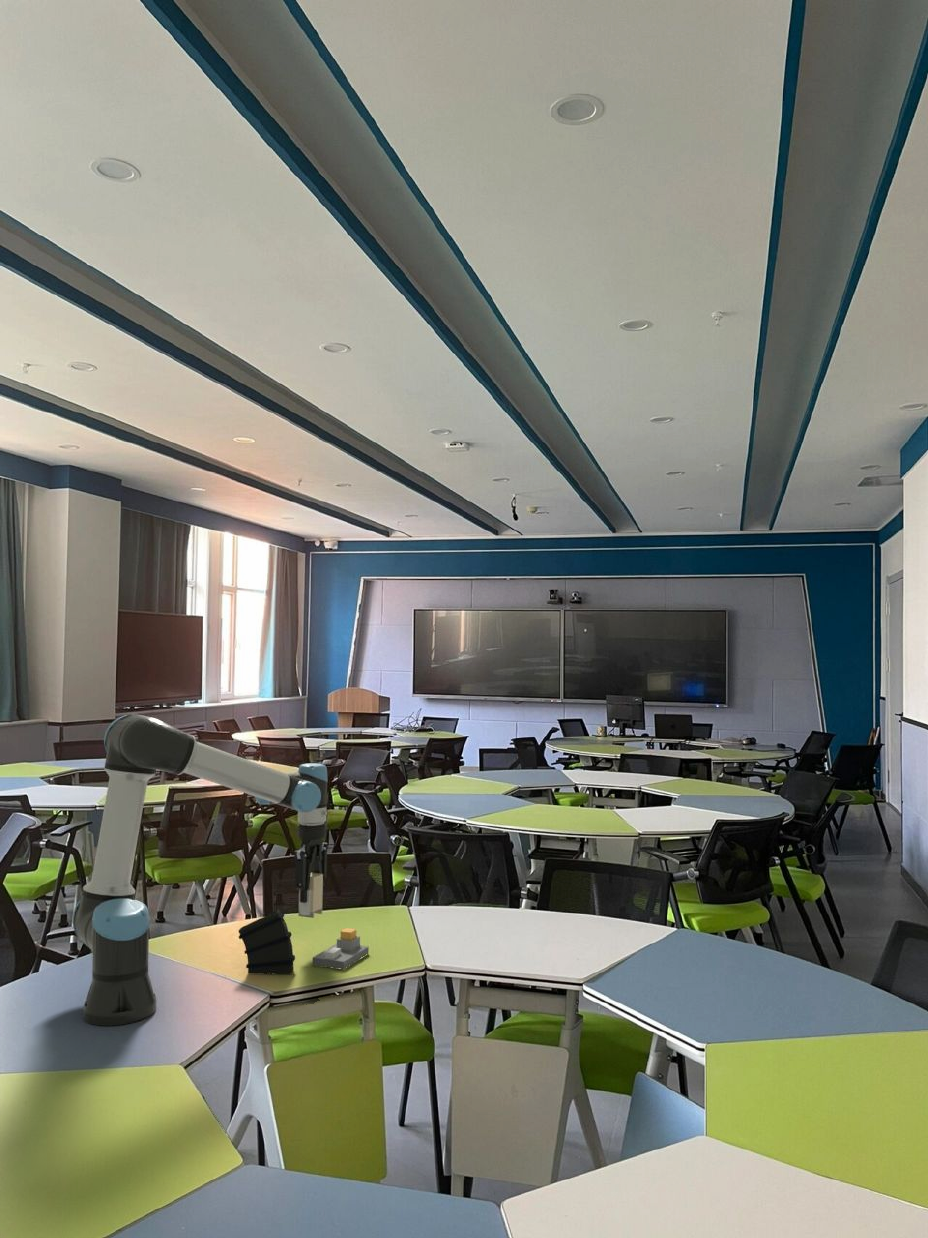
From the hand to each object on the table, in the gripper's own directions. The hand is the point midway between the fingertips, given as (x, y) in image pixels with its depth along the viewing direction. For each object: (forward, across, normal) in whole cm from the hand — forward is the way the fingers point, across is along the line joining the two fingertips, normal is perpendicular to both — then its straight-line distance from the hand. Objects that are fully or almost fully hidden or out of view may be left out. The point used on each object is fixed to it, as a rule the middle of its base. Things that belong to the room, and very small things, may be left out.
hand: (310, 911), depth 251 cm
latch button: (+7, +1, -11) cm, 13 cm away
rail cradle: (+10, -2, -11) cm, 15 cm away
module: (+1, 0, 0) cm, 1 cm away
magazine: (+11, -18, +2) cm, 21 cm away
